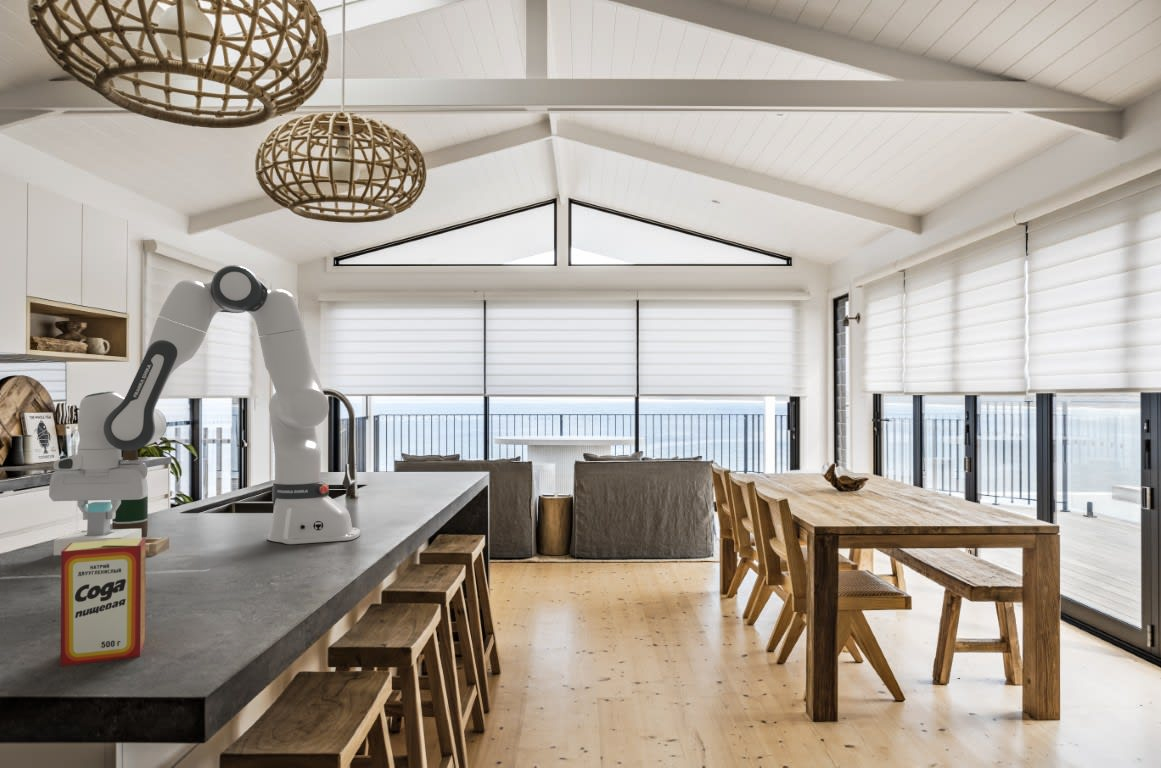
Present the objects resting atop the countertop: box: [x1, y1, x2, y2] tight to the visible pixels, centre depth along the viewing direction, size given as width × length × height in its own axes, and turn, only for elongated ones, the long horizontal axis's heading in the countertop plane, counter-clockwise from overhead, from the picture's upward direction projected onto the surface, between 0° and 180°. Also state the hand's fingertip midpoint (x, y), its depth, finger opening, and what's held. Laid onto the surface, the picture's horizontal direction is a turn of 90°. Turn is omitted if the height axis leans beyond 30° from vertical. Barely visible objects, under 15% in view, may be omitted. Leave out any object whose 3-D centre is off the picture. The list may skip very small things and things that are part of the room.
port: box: [53, 528, 142, 556], centre depth 181 cm, size 14×12×4 cm
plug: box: [86, 501, 112, 536], centre depth 181 cm, size 4×4×9 cm
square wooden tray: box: [145, 537, 170, 557], centre depth 177 cm, size 8×8×3 cm
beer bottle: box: [111, 449, 149, 538], centre depth 196 cm, size 8×8×24 cm
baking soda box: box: [59, 537, 147, 667], centre depth 110 cm, size 10×6×16 cm
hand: (99, 519), depth 181 cm, fingers closed on plug, 3 cm apart
